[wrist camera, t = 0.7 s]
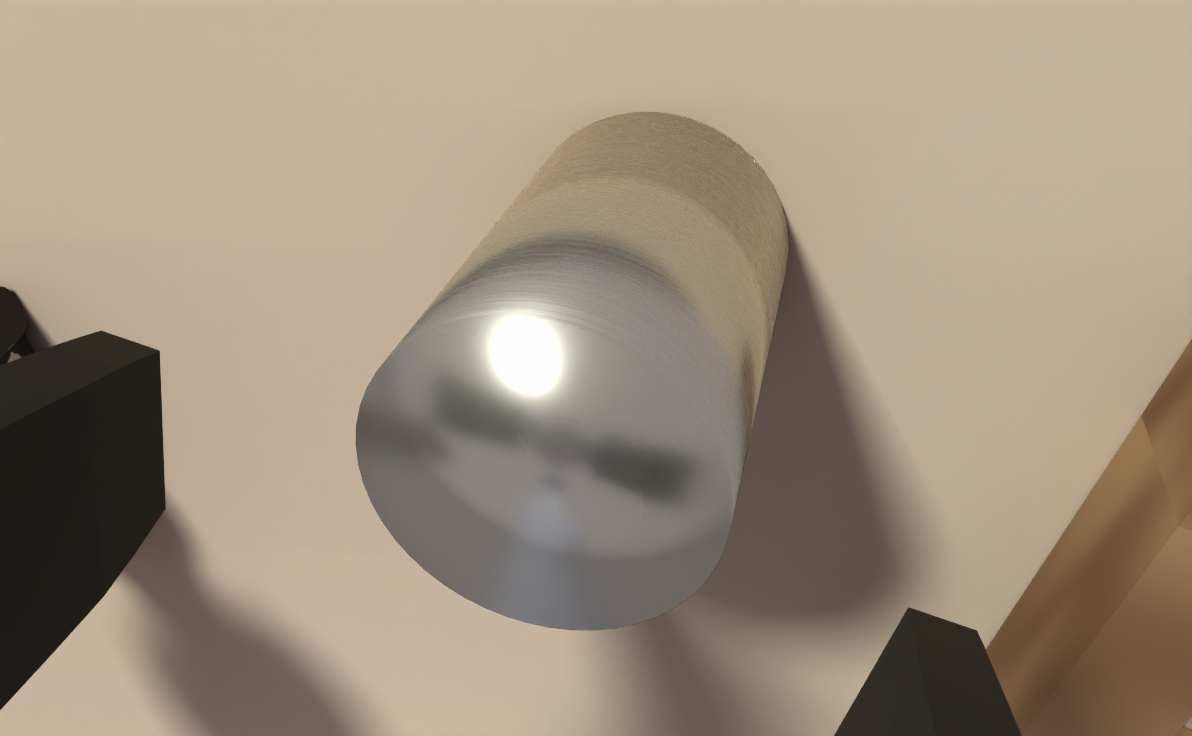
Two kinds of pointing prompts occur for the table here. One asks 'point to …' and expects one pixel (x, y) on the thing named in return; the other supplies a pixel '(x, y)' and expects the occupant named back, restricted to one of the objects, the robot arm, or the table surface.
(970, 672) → the robot arm
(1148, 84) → the table surface
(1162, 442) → the jig
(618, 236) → the brushed metal cylinder
